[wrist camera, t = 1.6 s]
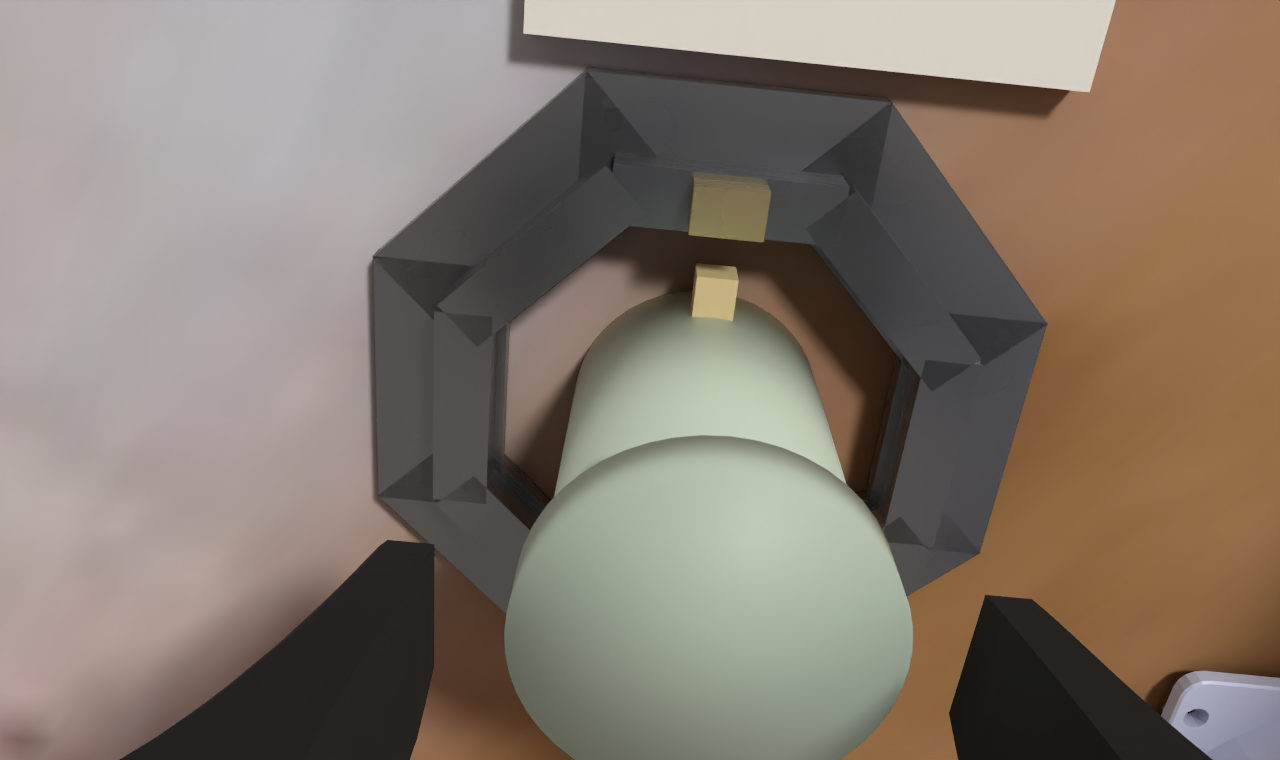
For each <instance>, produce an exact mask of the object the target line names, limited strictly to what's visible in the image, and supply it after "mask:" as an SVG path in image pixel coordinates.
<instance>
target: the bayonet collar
mask: <svg viewBox="0 0 1280 760" xmlns="http://www.w3.org/2000/svg"><path fill="white" fill-rule="evenodd" d="M629 226H635V227H645V228H655V229H665V230H675V231H685V232H688V233H689V235H693V236H703V237H713V238H723V239H733V240H743V241H753V242H763V243H764V240H774V241H784V242H794V243H804V244H811V245H812V247H813V248H814V249H815V250H816V252H817V253H818V254H819V256H820V257H821V258H822V259H823V261H824V262H825V263H826V265H827V266H828V267H829V268H830V270H831V271H832V272H833V274H834V275H835V276H836V277H837V279H838V280H839V281H840V283H841V284H842V285H843V286H844V288H845V289H846V290H847V292H848V293H849V294H850V295H851V297H852V298H853V299H854V301H855V302H856V303H857V304H858V306H859V307H860V308H861V310H862V311H863V312H864V313H865V315H866V316H867V317H868V319H869V320H870V321H871V322H872V324H873V325H874V326H875V327H876V329H877V330H878V331H879V333H880V334H881V335H882V336H883V338H884V339H885V340H886V342H887V343H888V344H889V345H890V347H891V348H892V349H893V351H894V352H895V353H896V354H897V356H896V360H895V365H894V369H893V374H892V378H891V382H890V387H889V391H888V395H887V400H886V404H885V409H884V413H883V417H882V422H881V426H880V431H879V435H878V439H877V444H876V448H875V452H874V457H873V461H872V466H871V470H870V474H869V479H868V483H867V488H866V489H865V490H864V491H862V492H861V493H859V494H858V496H859V497H860V498H861V499H862V500H863V501H864V503H865V504H866V506H867V507H868V508H869V510H870V511H871V512H872V514H873V515H874V517H875V518H876V519H877V521H878V523H879V525H880V527H881V529H882V531H883V533H884V535H885V537H886V538H887V541H888V544H889V547H890V550H891V553H892V556H893V559H894V561H895V564H896V567H897V570H898V573H899V576H900V579H901V582H902V585H903V588H904V591H905V594H906V596H908V595H910V594H911V593H913V592H915V591H917V590H918V589H920V588H922V587H923V586H925V585H927V584H928V583H930V582H932V581H933V580H935V579H937V578H939V577H940V576H942V575H944V574H945V573H947V572H949V571H950V570H952V569H954V568H956V567H957V566H959V565H961V564H962V563H964V562H966V561H967V560H969V559H971V558H972V557H974V556H976V555H978V554H979V553H980V549H981V546H982V543H983V539H984V536H985V532H986V529H987V526H988V522H989V519H990V516H991V512H992V509H993V505H994V502H995V499H996V495H997V492H998V489H999V485H1000V482H1001V478H1002V475H1003V472H1004V468H1005V465H1006V462H1007V458H1008V455H1009V451H1010V448H1011V445H1012V441H1013V438H1014V434H1015V431H1016V428H1017V424H1018V421H1019V418H1020V414H1021V411H1022V407H1023V404H1024V401H1025V397H1026V394H1027V391H1028V387H1029V384H1030V380H1031V377H1032V374H1033V370H1034V367H1035V364H1036V360H1037V357H1038V353H1039V350H1040V347H1041V343H1042V340H1043V337H1044V333H1045V330H1046V326H1047V325H1048V324H1047V322H1046V321H1045V320H1044V319H1043V317H1042V316H1041V314H1040V313H1039V312H1038V310H1037V309H1036V307H1035V306H1034V304H1033V303H1032V302H1031V300H1030V299H1029V297H1028V296H1027V294H1026V293H1025V292H1024V290H1023V289H1022V287H1021V286H1020V284H1019V283H1018V282H1017V280H1016V279H1015V277H1014V276H1013V274H1012V273H1011V272H1010V270H1009V269H1008V267H1007V266H1006V264H1005V263H1004V262H1003V260H1002V259H1001V257H1000V256H999V255H998V253H997V252H996V250H995V249H994V247H993V246H992V245H991V243H990V242H989V240H988V239H987V237H986V236H985V235H984V233H983V232H982V230H981V229H980V227H979V226H978V225H977V223H976V222H975V220H974V219H973V217H972V216H971V215H970V213H969V212H968V210H967V209H966V207H965V206H964V205H963V203H962V202H961V200H960V199H959V197H958V196H957V195H956V193H955V192H954V190H953V189H952V187H951V186H950V185H949V183H948V182H947V180H946V179H945V177H944V176H943V175H942V173H941V172H940V170H939V169H938V168H937V166H936V165H935V163H934V162H933V160H932V159H931V158H930V156H929V155H928V153H927V152H926V150H925V149H924V148H923V146H922V145H921V143H920V142H919V140H918V139H917V138H916V136H915V135H914V133H913V132H912V130H911V129H910V128H909V126H908V125H907V123H906V122H905V120H904V119H903V118H902V116H901V115H900V113H899V112H898V110H897V109H896V108H895V106H894V105H893V102H892V101H890V100H889V99H888V98H879V97H869V96H860V95H850V94H840V93H830V92H821V91H811V90H801V89H792V88H782V87H772V86H763V85H753V84H743V83H734V82H724V81H714V80H705V79H695V78H685V77H675V76H666V75H656V74H646V73H637V72H627V71H617V70H608V69H598V68H589V67H587V69H586V70H585V71H584V72H583V73H581V74H580V75H579V76H578V77H577V78H576V79H574V80H573V81H572V82H571V83H570V84H569V85H568V86H566V87H565V88H564V89H563V90H562V91H561V92H560V93H558V94H557V95H556V96H555V97H554V98H553V99H552V100H550V101H549V102H548V103H547V104H546V105H545V106H543V107H542V108H541V109H540V110H539V111H538V112H537V113H535V114H534V115H533V116H532V117H531V118H530V119H529V120H527V121H526V122H525V123H524V124H523V125H522V126H521V127H519V128H518V129H517V130H516V131H515V132H514V133H512V134H511V135H510V136H509V137H508V138H507V139H506V140H504V141H503V142H502V143H501V144H500V145H499V146H498V147H496V148H495V149H494V150H493V151H492V152H491V153H490V154H488V155H487V156H486V157H485V158H484V159H483V160H481V161H480V162H479V163H478V164H477V165H476V166H475V167H473V168H472V169H471V170H470V171H469V172H468V173H467V174H465V175H464V176H463V177H462V178H461V179H460V180H459V181H457V182H456V183H455V184H454V185H453V186H452V187H450V188H449V189H448V190H447V191H446V192H445V193H444V194H442V195H441V196H440V197H439V198H438V199H437V200H436V201H434V202H433V203H432V204H431V205H430V206H429V207H428V208H426V209H425V210H424V211H423V212H422V213H421V214H419V215H418V216H417V217H416V218H415V219H414V220H413V221H411V222H410V223H409V224H408V225H407V226H406V227H405V228H403V229H402V230H401V231H400V232H399V233H398V234H397V235H395V236H394V237H393V238H392V239H391V240H390V241H388V242H387V243H386V244H385V245H384V246H383V247H382V248H380V249H379V250H378V251H377V252H376V253H375V254H374V255H373V279H374V324H375V369H376V414H377V458H378V497H380V498H381V499H382V500H383V501H384V502H385V503H386V504H387V505H389V506H390V507H391V508H392V509H393V510H394V511H395V512H396V513H397V514H398V515H399V516H400V517H401V518H403V519H404V520H405V521H406V522H407V523H408V524H409V525H410V526H411V527H412V528H413V529H414V530H416V531H417V532H418V533H419V534H420V535H421V536H422V537H423V538H424V539H425V540H426V541H427V542H429V543H430V544H434V548H435V549H436V550H437V551H438V552H439V553H440V554H441V555H443V556H444V557H445V558H446V559H447V560H448V561H449V562H450V563H451V564H452V565H453V566H454V567H456V568H457V569H458V570H459V571H460V572H461V573H462V574H463V575H464V576H465V577H466V578H467V579H469V580H470V581H471V582H472V583H473V584H474V585H475V586H476V587H477V588H478V589H479V590H480V591H481V592H483V593H484V594H485V595H486V596H487V597H488V598H489V599H490V600H491V601H492V602H493V603H494V604H496V605H497V606H498V607H499V608H500V609H501V610H502V611H503V612H504V613H505V614H506V615H507V609H508V605H509V600H510V596H511V592H512V587H513V583H514V579H515V574H516V570H517V566H518V562H519V559H520V555H521V552H522V549H523V545H524V543H525V541H526V539H527V537H528V535H529V532H530V530H531V528H532V526H533V524H534V523H535V521H536V520H537V518H538V517H539V516H540V514H541V513H542V511H543V510H544V508H545V507H546V506H547V505H548V503H549V502H550V501H551V500H550V499H549V498H548V497H547V496H546V495H545V494H544V493H543V492H542V491H541V490H540V489H539V488H538V487H537V486H536V485H535V484H534V483H533V482H532V481H531V480H530V479H529V478H528V477H527V476H526V475H525V474H524V473H523V472H522V471H521V470H520V469H519V468H518V467H517V466H516V465H515V464H514V463H513V462H512V461H511V460H510V459H509V458H508V457H507V456H506V455H505V454H504V451H505V427H506V403H507V379H508V355H509V331H510V321H511V320H512V319H513V318H515V317H516V316H517V315H518V314H520V313H521V312H522V311H523V310H525V309H526V308H527V307H528V306H530V305H531V304H532V303H533V302H535V301H536V300H537V299H538V298H540V297H541V296H542V295H543V294H545V293H546V292H547V291H548V290H550V289H551V288H552V287H553V286H555V285H556V284H557V283H558V282H560V281H561V280H562V279H564V278H565V277H566V276H567V275H569V274H570V273H571V272H572V271H574V270H575V269H576V268H577V267H579V266H580V265H581V264H582V263H584V262H585V261H586V260H587V259H589V258H590V257H591V256H592V255H594V254H595V253H596V252H597V251H599V250H600V249H601V248H602V247H604V246H605V245H606V244H607V243H609V242H610V241H611V240H613V239H614V238H615V237H616V236H618V235H619V234H620V233H621V232H623V231H624V230H625V229H626V228H628V227H629Z"/></svg>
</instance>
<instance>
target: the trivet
mask: <svg viewBox="0 0 1280 760" xmlns="http://www.w3.org/2000/svg"><path fill="white" fill-rule="evenodd" d="M1115 1H1116V0H525V6H524V29H523V33H524V34H533V35H543V36H552V37H562V38H572V39H581V40H591V41H601V42H610V43H620V44H630V45H639V46H649V47H659V48H668V49H678V50H687V51H697V52H707V53H716V54H726V55H736V56H745V57H755V58H765V59H774V60H784V61H794V62H803V63H813V64H822V65H832V66H842V67H851V68H861V69H871V70H880V71H890V72H900V73H909V74H919V75H929V76H938V77H948V78H958V79H967V80H977V81H986V82H996V83H1006V84H1015V85H1025V86H1035V87H1044V88H1054V89H1064V90H1073V91H1083V92H1090V89H1091V85H1092V82H1093V78H1094V75H1095V71H1096V68H1097V64H1098V61H1099V57H1100V54H1101V50H1102V47H1103V43H1104V40H1105V36H1106V32H1107V29H1108V25H1109V22H1110V18H1111V15H1112V11H1113V8H1114V4H1115Z"/></svg>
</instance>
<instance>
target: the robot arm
mask: <svg viewBox="0 0 1280 760" xmlns="http://www.w3.org/2000/svg"><path fill="white" fill-rule="evenodd" d="M433 668H434V544H425V543H414V542H403V541H393V540H387V541H386V542H384V543H383V544H382V545H380V546H379V547H378V548H377V549H376V550H375V551H374V552H373V553H372V554H371V555H370V556H369V557H368V558H367V559H366V560H365V561H364V562H363V563H362V564H361V565H360V566H359V567H358V569H357V570H356V571H355V572H354V573H353V574H352V575H351V576H350V577H349V578H348V579H347V580H346V581H345V582H344V583H343V584H342V585H341V586H340V587H339V588H338V589H337V590H336V591H335V592H334V593H333V594H332V595H331V596H329V597H328V598H327V599H326V600H325V601H324V602H323V603H322V604H321V605H320V606H319V607H318V608H317V609H316V610H315V611H314V612H313V613H312V614H310V615H309V616H308V617H307V618H306V619H305V620H304V621H303V622H302V623H301V624H300V625H299V626H298V627H296V628H295V629H294V630H293V631H292V632H291V633H290V634H289V635H288V636H287V637H286V638H284V639H283V640H282V641H281V642H280V643H279V644H278V645H276V646H275V647H274V648H273V649H272V650H271V651H269V652H268V653H267V654H266V655H264V656H263V657H262V658H261V659H260V660H258V661H257V662H256V663H255V664H254V665H252V666H251V667H250V668H249V669H248V670H246V671H245V672H244V673H243V674H242V675H240V676H239V677H238V678H237V679H236V680H234V681H233V682H232V683H231V684H229V685H228V686H227V687H226V688H224V689H223V690H222V691H220V692H219V693H218V694H216V695H215V696H214V697H213V698H211V699H210V700H209V701H207V702H206V703H205V704H203V705H202V706H200V707H199V708H198V709H196V710H195V711H194V712H192V713H191V714H189V715H188V716H186V717H185V718H184V719H182V720H181V721H179V722H178V723H176V724H175V725H174V726H172V727H171V728H169V729H168V730H166V731H165V732H164V733H162V734H161V735H159V736H158V737H156V738H154V739H153V740H151V741H150V742H148V743H146V744H145V745H143V746H141V747H140V748H138V749H137V750H135V751H133V752H132V753H130V754H128V755H127V756H125V757H123V758H122V759H120V760H410V757H411V754H412V751H413V748H414V745H415V743H416V740H417V736H418V732H419V728H420V724H421V720H422V716H423V711H424V707H425V703H426V699H427V694H428V690H429V685H430V681H431V677H432V672H433ZM1193 709H1196V710H1195V711H1193V712H1191V713H1187V712H1189V711H1191V710H1193ZM949 715H950V720H951V725H952V730H953V735H954V741H955V746H956V751H957V756H958V760H1280V678H1275V677H1265V676H1254V675H1244V674H1233V673H1222V672H1212V671H1194V672H1191V673H1188V674H1185V675H1184V676H1182V677H1181V678H1180V679H1178V681H1177V682H1176V683H1175V685H1174V686H1173V688H1172V691H1171V693H1170V695H1169V698H1168V700H1167V702H1166V705H1165V707H1164V709H1163V712H1162V714H1161V716H1160V715H1159V714H1158V713H1157V712H1156V711H1155V710H1154V709H1152V708H1151V707H1150V706H1149V705H1148V704H1147V703H1146V702H1145V701H1143V700H1142V699H1141V698H1140V697H1139V696H1138V695H1137V694H1136V693H1135V692H1133V691H1132V690H1131V689H1130V688H1129V687H1128V686H1127V685H1126V684H1125V683H1124V682H1122V681H1121V680H1120V679H1119V678H1118V677H1117V676H1116V675H1115V674H1114V673H1113V672H1112V671H1110V670H1109V669H1108V668H1107V667H1106V666H1105V665H1104V664H1103V663H1102V662H1101V661H1100V660H1099V659H1098V658H1096V657H1095V656H1094V655H1093V654H1092V653H1091V652H1090V651H1089V650H1088V649H1087V648H1086V647H1085V646H1084V645H1082V644H1081V643H1080V642H1079V641H1078V640H1077V639H1076V638H1075V637H1074V636H1073V635H1072V634H1071V633H1070V632H1068V631H1067V630H1066V629H1065V628H1064V627H1063V626H1062V625H1061V624H1060V623H1059V622H1058V621H1056V620H1055V619H1054V618H1053V617H1052V616H1051V615H1050V614H1049V613H1047V612H1046V611H1045V610H1044V609H1043V608H1042V607H1040V606H1039V605H1038V604H1037V603H1036V602H1034V601H1033V600H1032V599H1023V598H1012V597H1001V596H990V595H985V598H984V602H983V605H982V608H981V611H980V615H979V618H978V621H977V624H976V628H975V631H974V634H973V637H972V641H971V644H970V647H969V650H968V654H967V657H966V660H965V663H964V667H963V670H962V673H961V676H960V680H959V683H958V686H957V689H956V693H955V696H954V699H953V702H952V706H951V709H950V712H949Z"/></svg>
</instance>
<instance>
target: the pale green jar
mask: <svg viewBox="0 0 1280 760" xmlns="http://www.w3.org/2000/svg"><path fill="white" fill-rule="evenodd" d="M738 282H739V280H738V275H737V269H736V267H730V266H720V265H711V264H701V263H696V267H695V275H694V283H693V291H689V292H677V293H672V294H667V295H663V296H659V297H656V298H653V299H650V300H647V301H645V302H643V303H641V304H639V305H637V306H635V307H633V308H631V309H629V310H628V311H626V312H625V313H623V314H622V315H620V316H619V317H617V318H616V319H615V320H614V321H613V322H611V323H610V324H609V325H608V326H607V327H606V328H605V329H604V330H603V331H602V332H601V334H600V335H599V336H598V337H597V338H596V339H595V341H594V342H593V344H592V346H591V347H590V349H589V350H588V352H587V354H586V356H585V358H584V360H583V362H582V365H581V368H580V371H579V374H578V378H577V383H576V388H575V393H574V398H573V403H572V408H571V413H570V418H569V423H568V428H567V433H566V438H565V443H564V448H563V453H562V458H561V463H560V469H559V474H558V479H557V484H556V489H555V494H554V498H553V499H552V500H551V501H550V502H549V503H548V505H547V506H546V507H545V508H544V510H543V511H542V513H541V514H540V516H539V517H538V518H537V520H536V521H535V523H534V524H533V526H532V528H531V530H530V532H529V535H528V537H527V539H526V541H525V543H524V545H523V549H522V552H521V555H520V559H519V562H518V566H517V570H516V574H515V579H514V583H513V587H512V592H511V596H510V600H509V605H508V609H507V615H506V622H505V630H504V641H505V656H506V661H507V666H508V671H509V675H510V678H511V680H512V683H513V686H514V688H515V691H516V693H517V695H518V697H519V699H520V701H521V702H522V704H523V706H524V708H525V710H526V711H527V713H528V714H529V715H530V717H531V718H532V719H533V721H534V722H535V723H536V725H537V726H538V727H539V729H540V730H541V731H542V732H543V733H544V734H545V735H546V736H547V737H548V738H549V739H550V740H551V741H552V742H553V743H554V744H555V745H557V746H558V747H559V748H560V749H562V750H563V751H564V752H565V753H567V754H568V755H569V756H571V757H572V758H573V759H575V760H840V759H842V758H844V757H845V756H846V755H848V754H849V753H850V752H851V751H853V750H854V749H855V748H856V747H858V746H859V745H860V744H861V743H863V742H864V741H865V740H866V739H867V737H868V736H869V735H870V734H871V733H872V732H873V731H874V730H875V729H876V728H877V727H878V726H879V725H880V723H881V722H882V721H883V719H884V718H885V717H886V715H887V714H888V713H889V711H890V710H891V708H892V707H893V705H894V703H895V701H896V699H897V697H898V696H899V694H900V692H901V690H902V687H903V684H904V682H905V679H906V676H907V673H908V671H909V666H910V660H911V655H912V650H913V625H912V618H911V612H910V606H909V603H908V600H907V597H906V594H905V591H904V588H903V585H902V582H901V579H900V576H899V573H898V570H897V567H896V564H895V561H894V559H893V556H892V553H891V550H890V547H889V544H888V541H887V538H886V537H885V535H884V533H883V531H882V529H881V527H880V525H879V523H878V521H877V519H876V518H875V517H874V515H873V514H872V512H871V511H870V510H869V508H868V507H867V506H866V504H865V503H864V501H863V500H862V499H861V498H860V497H859V496H858V495H857V494H856V493H855V492H854V491H853V490H852V489H851V488H850V487H849V486H848V485H847V484H846V481H845V478H844V474H843V471H842V468H841V465H840V461H839V458H838V455H837V452H836V448H835V445H834V442H833V439H832V435H831V432H830V429H829V426H828V422H827V419H826V416H825V412H824V409H823V406H822V403H821V399H820V396H819V393H818V390H817V386H816V383H815V380H814V377H813V373H812V370H811V367H810V364H809V361H808V359H807V357H806V355H805V353H804V351H803V349H802V347H801V346H800V344H799V343H798V341H797V340H796V339H795V337H794V336H793V334H792V333H791V332H790V331H789V330H788V329H787V328H786V327H785V326H784V325H783V324H782V323H781V322H780V321H779V320H777V319H776V318H775V317H774V316H772V315H771V314H770V313H768V312H766V311H765V310H763V309H762V308H760V307H758V306H757V305H754V304H752V303H750V302H747V301H745V300H743V299H740V298H737V297H736V295H737V288H738Z"/></svg>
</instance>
